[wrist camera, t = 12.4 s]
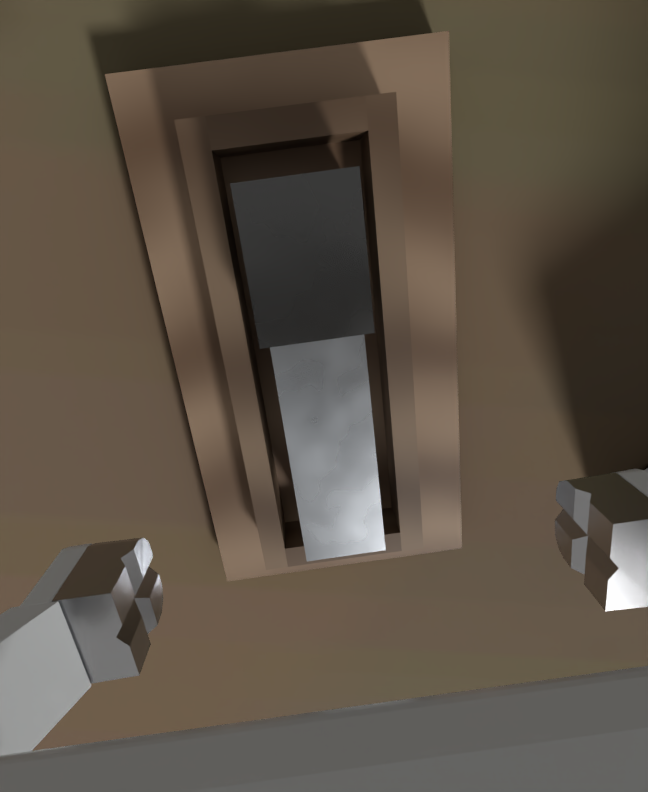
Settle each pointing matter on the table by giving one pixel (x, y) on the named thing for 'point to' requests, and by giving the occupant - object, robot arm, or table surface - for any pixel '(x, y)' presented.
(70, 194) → the table surface
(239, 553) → the cradle
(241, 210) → the two-tone gray stick
